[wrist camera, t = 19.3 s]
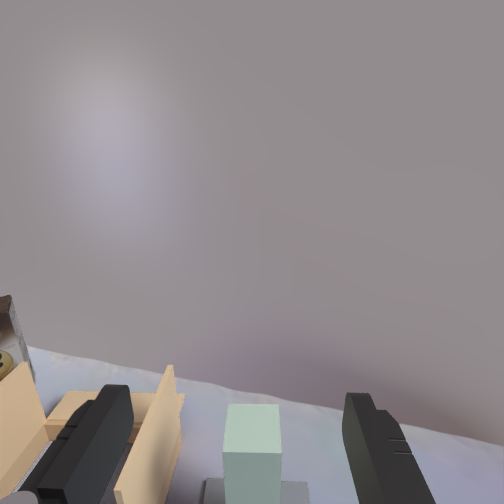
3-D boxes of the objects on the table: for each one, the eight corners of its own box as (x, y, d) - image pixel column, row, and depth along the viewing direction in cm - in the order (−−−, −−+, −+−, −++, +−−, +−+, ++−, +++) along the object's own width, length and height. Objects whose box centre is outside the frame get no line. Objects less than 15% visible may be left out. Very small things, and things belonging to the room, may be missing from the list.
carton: (-111, 652, 25) (-195, 559, 20) (69, 406, 47) (49, 337, 43) (119, 669, 24) (85, 576, 19) (191, 410, 46) (183, 339, 42)
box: (230, 571, 29) (222, 451, 23) (234, 515, 33) (228, 403, 27) (277, 572, 29) (281, 453, 23) (275, 516, 33) (278, 404, 27)
